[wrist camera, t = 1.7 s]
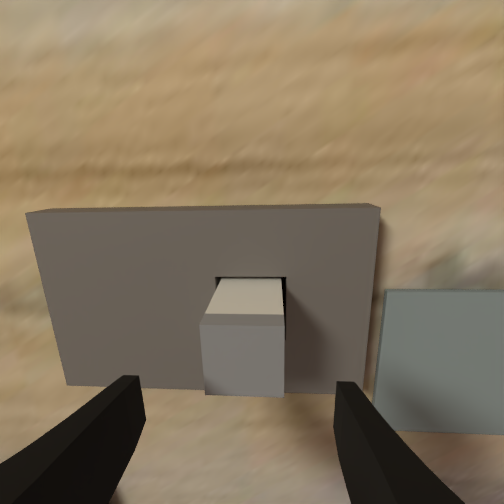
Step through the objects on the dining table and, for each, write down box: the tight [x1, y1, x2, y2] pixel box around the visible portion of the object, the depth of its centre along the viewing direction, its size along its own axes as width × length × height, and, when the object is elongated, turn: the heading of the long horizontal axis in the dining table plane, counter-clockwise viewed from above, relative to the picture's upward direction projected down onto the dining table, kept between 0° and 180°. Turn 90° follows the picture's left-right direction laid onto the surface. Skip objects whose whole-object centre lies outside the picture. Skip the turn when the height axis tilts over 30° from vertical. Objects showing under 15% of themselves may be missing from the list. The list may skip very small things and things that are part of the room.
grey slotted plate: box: [25, 203, 381, 394], centre depth 18 cm, size 20×12×2 cm, turn 91°
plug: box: [199, 277, 285, 398], centre depth 16 cm, size 4×4×7 cm
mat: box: [372, 289, 504, 435], centre depth 19 cm, size 11×11×1 cm
